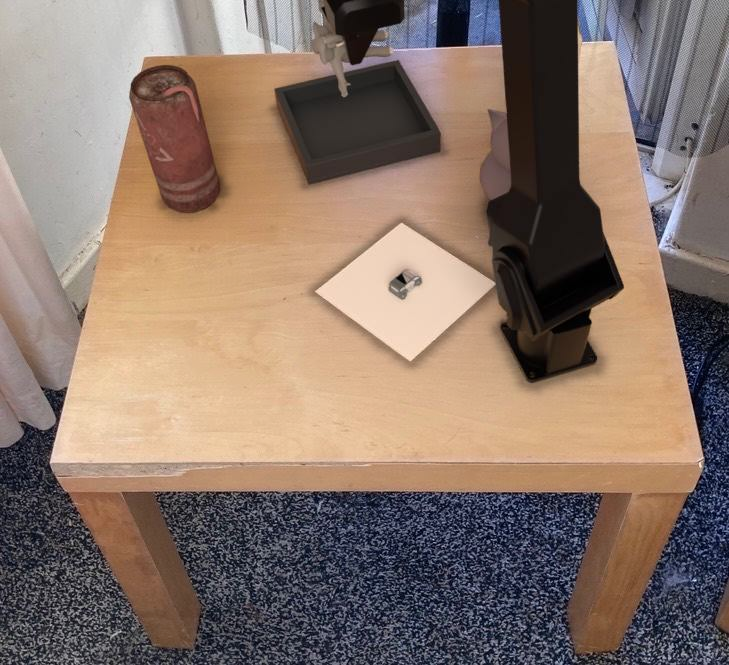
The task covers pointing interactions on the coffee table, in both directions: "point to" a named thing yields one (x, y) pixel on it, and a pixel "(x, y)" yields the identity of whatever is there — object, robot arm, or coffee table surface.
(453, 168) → the coffee table surface
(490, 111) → the cat figurine
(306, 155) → the tray
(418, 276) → the cream square coaster
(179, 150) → the can
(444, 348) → the coffee table surface
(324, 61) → the elephant figurine
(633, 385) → the coffee table surface
